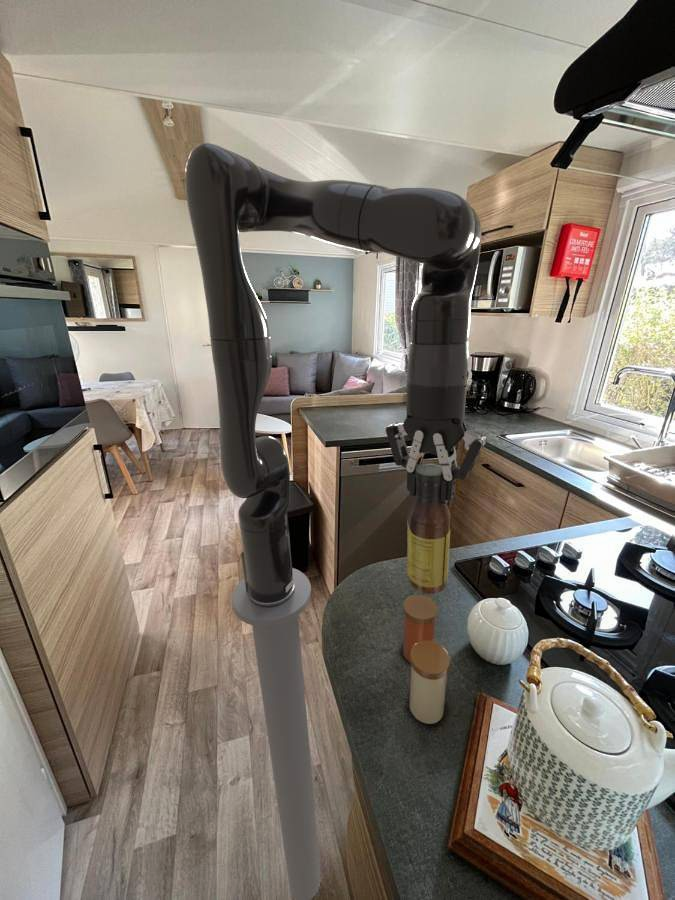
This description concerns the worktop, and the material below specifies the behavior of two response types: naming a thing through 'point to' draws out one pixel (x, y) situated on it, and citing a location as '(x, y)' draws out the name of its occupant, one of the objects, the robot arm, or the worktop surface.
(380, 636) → the worktop surface
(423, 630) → the terracotta jar
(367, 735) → the worktop surface
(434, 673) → the cream jar
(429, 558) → the sauce bottle
